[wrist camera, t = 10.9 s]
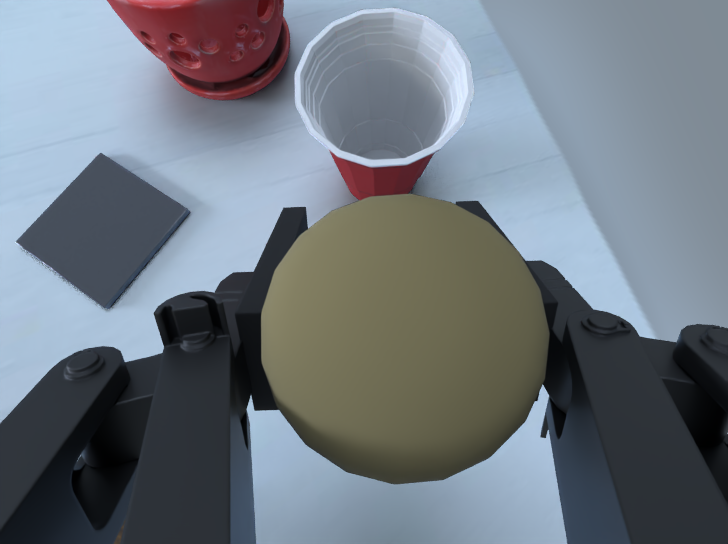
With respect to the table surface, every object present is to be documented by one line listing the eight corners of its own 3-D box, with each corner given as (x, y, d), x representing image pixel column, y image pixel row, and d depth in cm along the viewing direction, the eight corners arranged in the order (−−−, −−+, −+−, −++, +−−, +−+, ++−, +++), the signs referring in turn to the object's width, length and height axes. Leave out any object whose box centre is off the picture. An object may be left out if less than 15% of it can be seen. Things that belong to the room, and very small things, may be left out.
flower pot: (179, 3, 43) (108, -144, 31) (308, 12, 42) (284, -134, 31) (145, 112, 39) (50, -9, 27) (286, 124, 38) (249, 6, 27)
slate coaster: (190, 212, 36) (187, 208, 35) (108, 309, 33) (103, 307, 33) (104, 156, 38) (100, 152, 37) (20, 244, 35) (14, 242, 35)
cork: (454, 458, 16) (638, 561, 5) (294, 445, 16) (169, 520, 6) (456, 301, 18) (595, 151, 7) (312, 291, 18) (243, 126, 7)
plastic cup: (306, 229, 35) (274, 146, 24) (327, 119, 38) (309, -1, 27) (436, 246, 35) (469, 169, 23) (448, 133, 38) (482, 16, 26)
